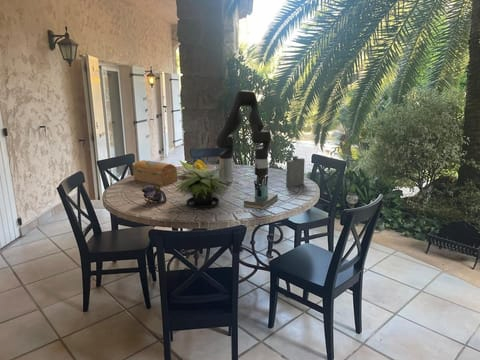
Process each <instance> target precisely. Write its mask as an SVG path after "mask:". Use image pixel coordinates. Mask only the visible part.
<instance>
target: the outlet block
mask: <svg viewBox="0 0 480 360" xmlns="http://www.w3.org/2000/svg"><path fill="white" fill-rule="evenodd" d="M278 195H279V194H278V193H272V192H268V198H267V199H258V198H255V193H254V194H252V195H251V196H249V197H247V198H246V199H244V200H243V206H245V207H250V208H258V209H265V208H266V207H268V206H270V205H271V204H272V203H274V202H276V201H277V200H278V197H279V196H278Z"/></svg>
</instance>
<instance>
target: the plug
mask: <svg viewBox="0 0 480 360" xmlns="http://www.w3.org/2000/svg"><path fill="white" fill-rule="evenodd" d="M259 185H261V184H259ZM268 189H269V186H268V184H267V185H263V186H262V187H261V197H258V196H257V190H255V189H254V194H255V198H258V199H267V198H268V193H269V190H268Z"/></svg>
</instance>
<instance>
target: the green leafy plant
mask: <svg viewBox="0 0 480 360" xmlns="http://www.w3.org/2000/svg"><path fill="white" fill-rule="evenodd" d="M192 165H193V167H194V168H195V165H194V164H192ZM196 170H198V169H196ZM196 170H195V171H194V170H191V171H190V170H189V171H188V174H187V175H189V176H186V175H185V180H186V179H188V178H186V177H189V180H190V178H195V177H196V176H195V175H194V172H196ZM192 171H194V172H193V173H192ZM198 171H200V170H198ZM198 171H197V172H198ZM200 174H201V173H200ZM196 175H197V174H196ZM198 175H199V174H198ZM190 176H192V177H190ZM193 176H194V177H193ZM186 187H187V186H186ZM187 188H188V187H187ZM187 188H186V189H187Z"/></svg>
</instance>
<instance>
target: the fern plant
mask: <svg viewBox="0 0 480 360" xmlns="http://www.w3.org/2000/svg"><path fill="white" fill-rule="evenodd" d="M181 165H182V166H183V165H184V164H181ZM184 166H187V165H184ZM185 168H190V169H191V170H194V171H195V170H196V169H195V168H194V167H191V166H188V167H185ZM219 168H220V167H219ZM219 168H216V169H215V170H213V171H212V172H210V171H208V172H209V173H208V172H207V171H206V172H203V173H204V174H200V171H198V170H196V172H194V171H192V173H193V172H194V175H195V176H196V177H195V178H190V180H189V177H186V176H189V175H186V174H177V177H185V179H182V180H181V181H178V182H176V183H175V184H174V187H173V188H172V191H174V190H175V191H174V192H173V193H172V195H174V194H175V193H177V192H179V191H180V192H181V191H182V190H183V189H185V195H183V196H182V197H183V198H184V197H185V196H186V195H187V194H189V193H190V194H191V197H190V198H188V199H187V200H186V206H187V207H189V208H190V207H191V208H190V209H194V208H196V210H207V209H206V208H208V209H212V207H213V208H216V207H217V206H218V205H219V204H220V200H219V199H220V198H218V196H220V197H223V196H222V194H224V193H225V192H226V193H228V194H230V192H229V189H230V190H232V188H230V187H229V186H227V184H229V185H230V186H232V184H231V183H228V182H226V181H225V182H224V180H223V179H224V178H221V177H219V175H218V176H217V172H218V174H219V173H220V172H219V170H220V169H224V168H220V169H219ZM190 169H185V170H190ZM191 170H190V171H191ZM197 171H198V172H197ZM196 174H197V175H196ZM198 174H199V175H198ZM214 175H215V176H214ZM190 177H192V176H190ZM193 177H194V176H193ZM186 178H188V179H186ZM225 180H226V179H225ZM220 181H221V182H220ZM222 181H223V182H222ZM223 183H224V184H223ZM225 184H226V185H225ZM187 187H188V188H187ZM221 192H222V193H221ZM217 195H218V196H217Z"/></svg>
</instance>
